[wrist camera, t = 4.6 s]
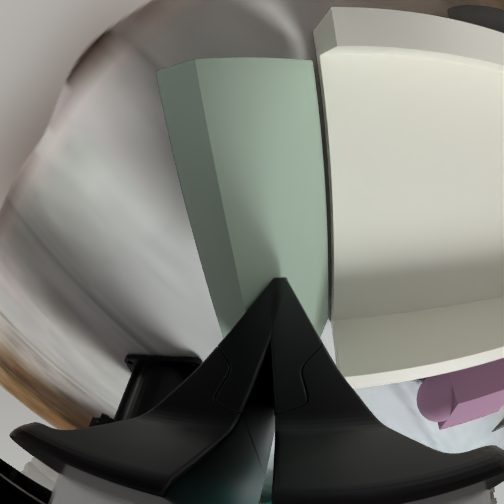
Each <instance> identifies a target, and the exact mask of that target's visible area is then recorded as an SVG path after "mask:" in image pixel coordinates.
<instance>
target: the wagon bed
mask: <svg viewBox="0 0 504 504" xmlns="http://www.w3.org/2000/svg"><path fill="white" fill-rule="evenodd" d="M448 16H449V18H444V17H439V16H434V15H428V14H422V13H415V12H408V11H399V10H390V9H378V8H361V7H331V8H330V9H329V10H328V12H327V13H326V14H325V16H324V17H323V18H322V20H321V21H320V22H319V24H318V25H317V26H316V28H315V29H314V30H313V36H314V43H315V49H316V56H317V63H318V71H319V78H320V86H321V95H322V104H323V113H324V124H325V134H326V146H327V160H328V175H329V192H330V215H331V253H332V301H331V326H332V333H333V341H334V349H335V357H336V365H337V368H338V369H339V371H340V372H341V374H342V375H343V376H344V378H345V379H346V381H347V382H348V383H349V384H350V386H351V387H352V388H353V389H356V388H364V387H372V386H379V385H386V384H392V383H399V382H404V381H410V380H415V379H421V378H426V377H431V376H435V375H440V374H445V373H449V372H453V371H457V370H461V369H465V368H469V367H473V366H477V365H481V364H484V363H488V362H491V361H494V360H498V359H501V358H504V10H501V9H497V8H491V7H484V6H456V7H452V8H450V9H448Z"/></svg>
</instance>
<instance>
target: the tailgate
mask: <svg viewBox="0 0 504 504" xmlns="http://www.w3.org/2000/svg"><path fill="white" fill-rule="evenodd" d="M156 75H157V81H158V86H159V91H160V96H161V101H162V105H163V110H164V115H165V120H166V124H167V129H168V133H169V138H170V142H171V147H172V151H173V155H174V160H175V164H176V168H177V172H178V176H179V181H180V185H181V189H182V193H183V197H184V201H185V205H186V209H187V212H188V216H189V220H190V224H191V228H192V232H193V235H194V239H195V243H196V246H197V250H198V254H199V257H200V261H201V264H202V268H203V272H204V275H205V279H206V282H207V286H208V289H209V292H210V296H211V299H212V303H213V306H214V309H215V313H216V316H217V319H218V322H219V326H220V329H221V332H222V335H223V338H225V336H226V335H227V334H228V333H229V332H230V330H231V329H232V328H233V327H234V326H235V324H236V323H237V322H238V321H239V320H240V318H241V317H242V316H243V315H244V314H245V312H246V311H247V310H248V309H249V308H250V306H251V305H252V304H253V303H254V301H255V300H256V299H257V298H258V297H259V295H260V294H261V293H262V292H263V290H264V289H265V288H266V287H267V285H268V284H269V283H270V282H271V281H272V279H273V278H275V277H286V278H287V279H288V282H289V284H290V285H291V287H292V289H293V291H294V292H295V294H296V296H297V298H298V300H299V301H300V303H301V305H302V307H303V308H304V310H305V312H306V314H307V316H308V317H309V319H310V321H311V323H312V325H313V326H314V328H315V330H316V332H317V334H318V335H319V337H320V336H321V334H322V332H323V329H324V327H325V325H326V322H327V320H328V239H327V213H326V193H325V177H324V163H323V150H322V138H321V127H320V117H319V108H318V99H317V90H316V82H315V75H314V67H313V61H312V60H300V59H285V58H257V57H232V58H205V59H193V60H190V61H186V62H183V63H180V64H176V65H173V66H170V67H167V68H164V69H160V70H157V71H156ZM274 432H275V431H274Z"/></svg>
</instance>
